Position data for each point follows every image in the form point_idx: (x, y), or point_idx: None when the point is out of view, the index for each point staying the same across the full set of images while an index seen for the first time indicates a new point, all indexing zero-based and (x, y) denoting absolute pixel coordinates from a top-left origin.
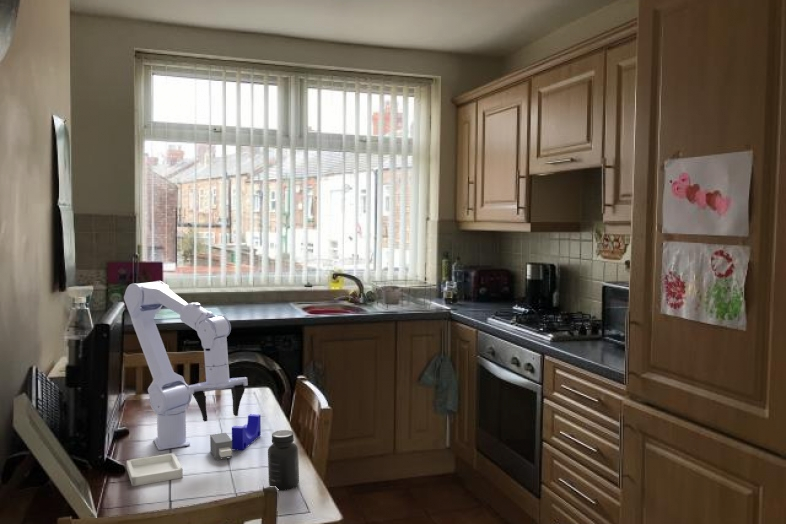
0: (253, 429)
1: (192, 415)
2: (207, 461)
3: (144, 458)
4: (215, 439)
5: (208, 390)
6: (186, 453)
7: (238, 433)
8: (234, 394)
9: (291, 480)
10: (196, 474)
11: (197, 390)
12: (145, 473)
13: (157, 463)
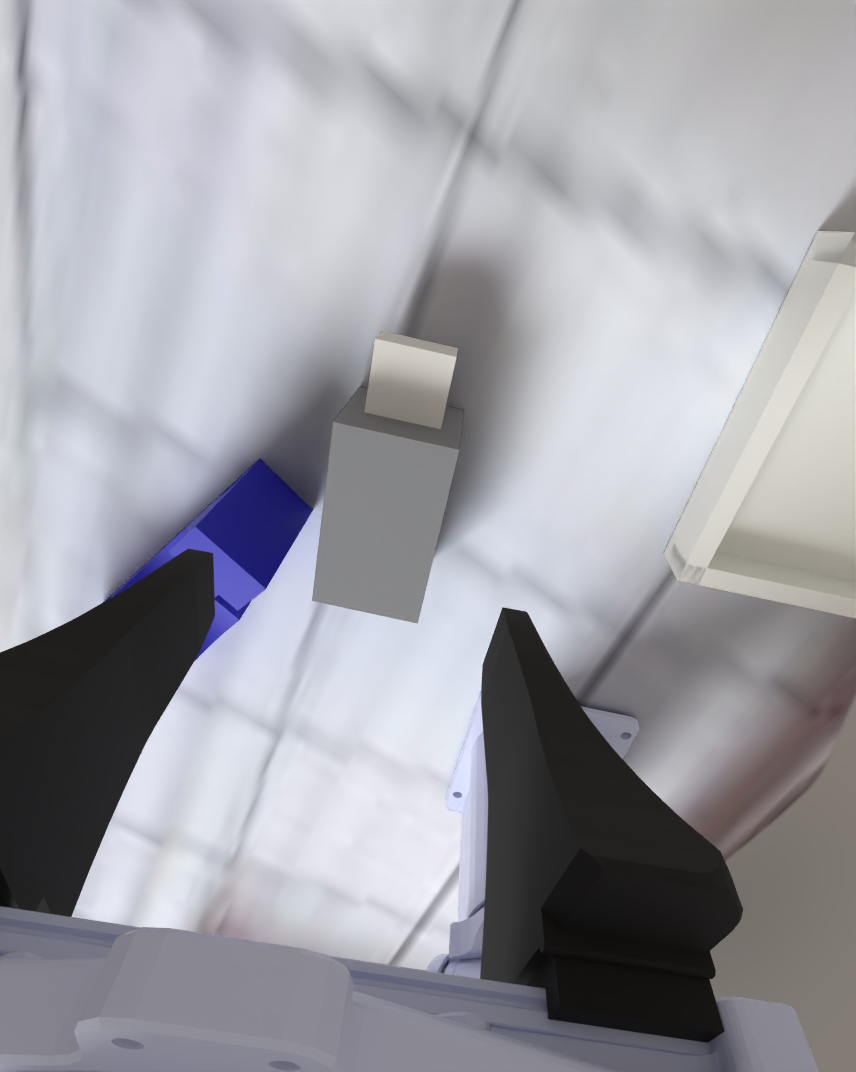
0: None
1: (319, 934)
2: (520, 420)
3: None
4: (426, 525)
5: (450, 986)
6: (549, 609)
7: (240, 529)
8: (64, 761)
9: None
10: (708, 227)
11: (644, 1054)
12: None
13: (783, 551)
